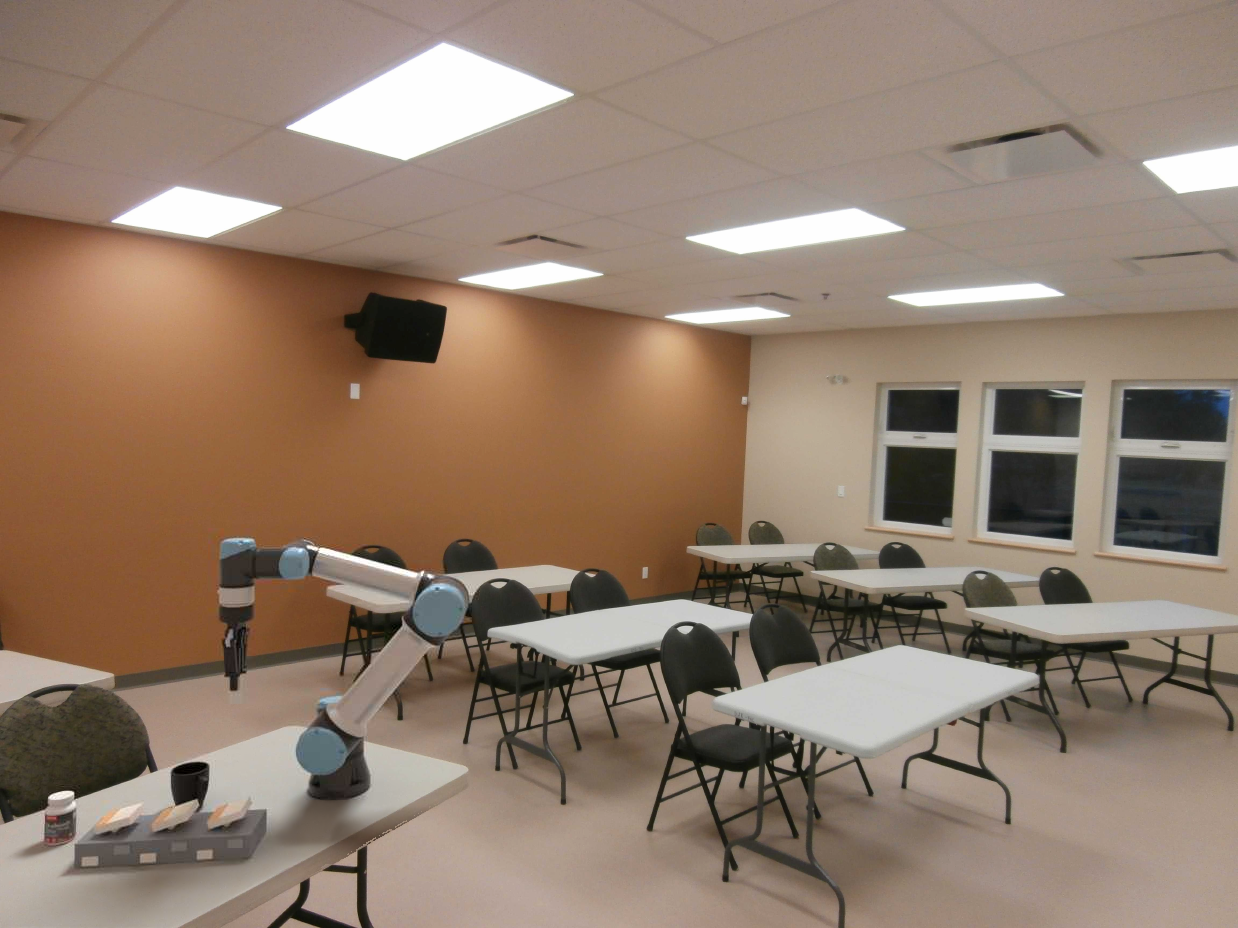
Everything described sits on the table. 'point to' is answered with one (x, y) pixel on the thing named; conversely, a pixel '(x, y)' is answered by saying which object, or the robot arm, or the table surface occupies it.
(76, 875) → the table surface
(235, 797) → the table surface
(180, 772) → the mug
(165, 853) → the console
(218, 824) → the switch
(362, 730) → the robot arm
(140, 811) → the switch
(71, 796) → the pill bottle
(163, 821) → the switch
